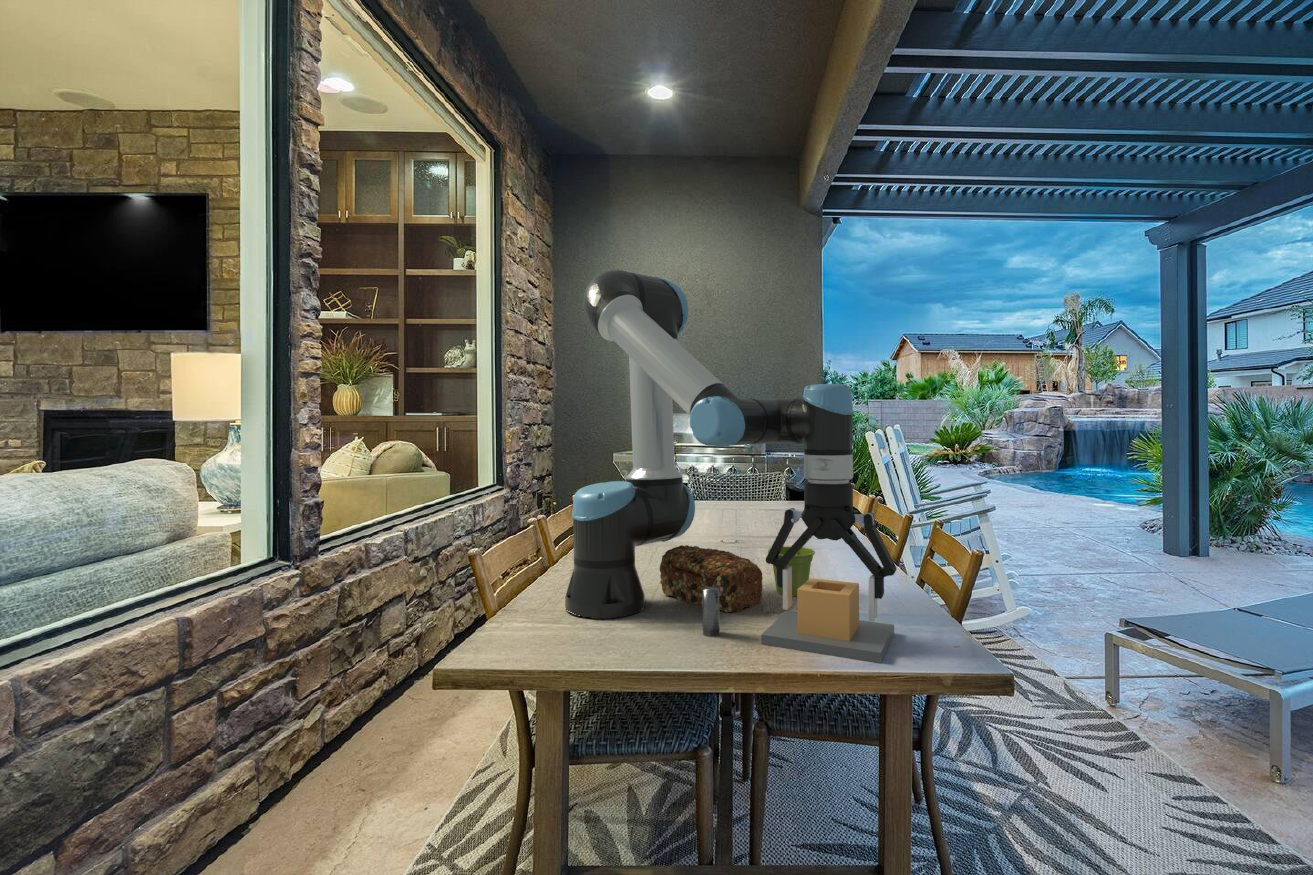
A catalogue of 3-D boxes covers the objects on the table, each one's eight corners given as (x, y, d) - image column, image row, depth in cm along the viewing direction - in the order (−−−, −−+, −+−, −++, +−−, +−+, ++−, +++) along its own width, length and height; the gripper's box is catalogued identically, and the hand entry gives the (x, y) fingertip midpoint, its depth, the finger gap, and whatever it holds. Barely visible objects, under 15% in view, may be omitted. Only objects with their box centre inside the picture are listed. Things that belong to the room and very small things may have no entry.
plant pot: (759, 590, 132) (758, 548, 132) (796, 584, 136) (795, 544, 136) (786, 601, 124) (786, 557, 123) (825, 595, 128) (824, 552, 127)
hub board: (761, 643, 101) (761, 596, 100) (786, 618, 113) (786, 576, 113) (880, 663, 92) (880, 611, 92) (894, 633, 105) (894, 587, 104)
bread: (658, 596, 129) (658, 547, 129) (694, 586, 136) (694, 539, 136) (730, 616, 115) (729, 561, 115) (765, 604, 123) (765, 552, 122)
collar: (797, 633, 101) (797, 589, 101) (810, 618, 108) (810, 578, 108) (849, 641, 97) (849, 595, 97) (859, 625, 104) (859, 583, 104)
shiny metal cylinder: (700, 634, 105) (699, 589, 105) (706, 629, 108) (706, 585, 107) (715, 637, 104) (715, 591, 104) (722, 632, 106) (721, 587, 106)
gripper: (746, 480, 104) (747, 608, 105) (908, 486, 93) (909, 630, 93) (761, 476, 111) (761, 597, 112) (914, 481, 99) (914, 616, 100)
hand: (828, 612), depth 102 cm, fingers open, 13 cm apart
